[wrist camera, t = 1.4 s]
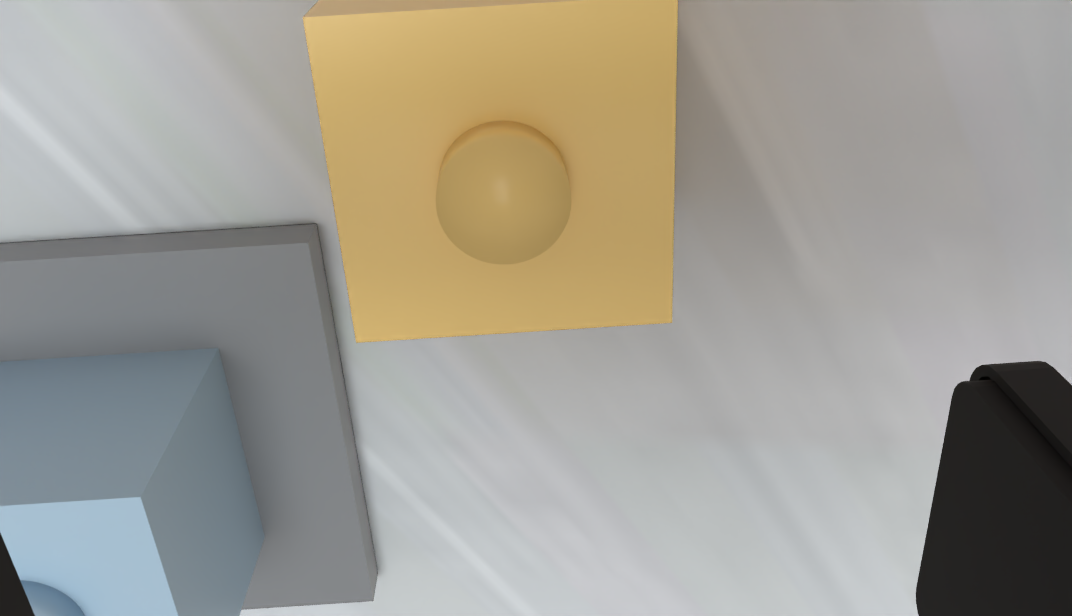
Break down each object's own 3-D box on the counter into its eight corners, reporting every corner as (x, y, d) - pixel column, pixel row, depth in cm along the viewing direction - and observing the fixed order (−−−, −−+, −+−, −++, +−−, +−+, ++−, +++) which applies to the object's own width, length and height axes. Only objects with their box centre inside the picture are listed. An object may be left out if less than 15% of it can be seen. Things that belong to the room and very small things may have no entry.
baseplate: (316, 223, 24) (300, 260, 22) (377, 573, 30) (369, 625, 28) (-152, 253, 24) (-208, 291, 22) (-1, 597, 30) (-36, 652, 28)
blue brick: (218, 347, 24) (122, 530, 18) (264, 536, 27) (196, 748, 21) (-29, 363, 24) (-209, 551, 18) (45, 550, 27) (-88, 766, 21)
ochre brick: (632, -51, 21) (688, 5, 15) (634, 211, 24) (680, 347, 18) (351, -34, 21) (291, 29, 15) (387, 226, 24) (349, 368, 18)
